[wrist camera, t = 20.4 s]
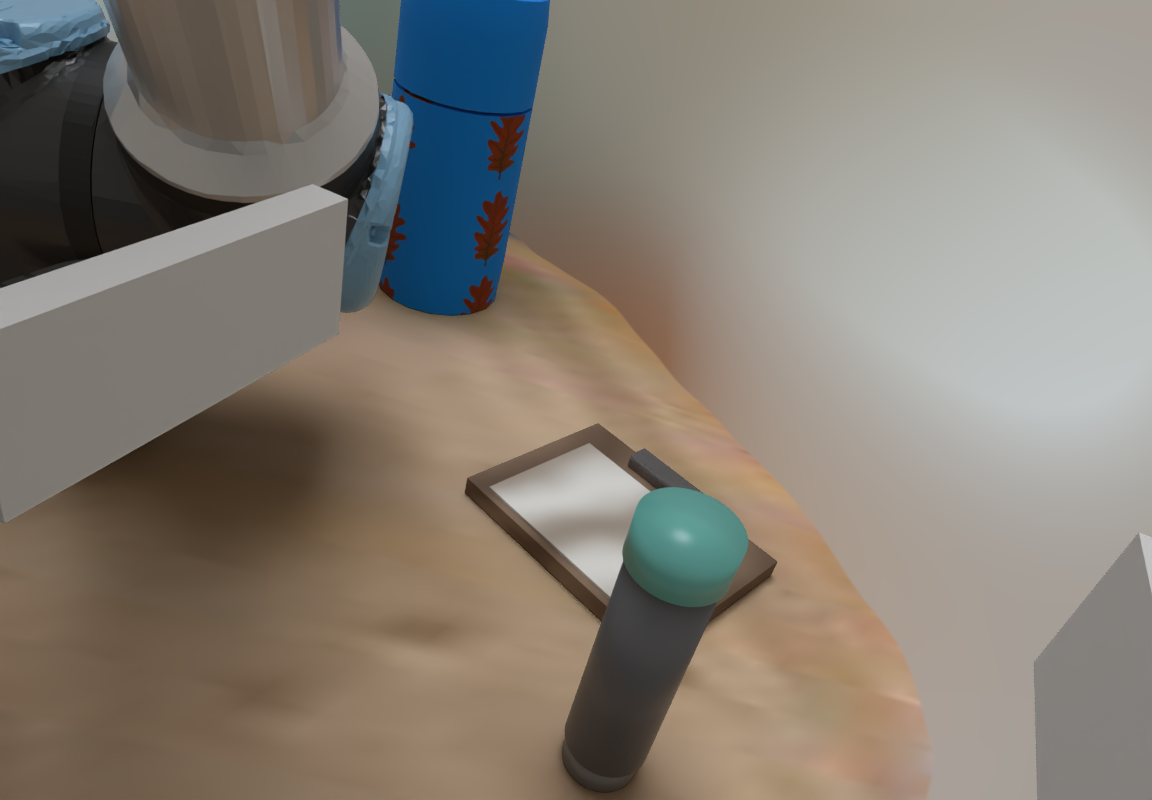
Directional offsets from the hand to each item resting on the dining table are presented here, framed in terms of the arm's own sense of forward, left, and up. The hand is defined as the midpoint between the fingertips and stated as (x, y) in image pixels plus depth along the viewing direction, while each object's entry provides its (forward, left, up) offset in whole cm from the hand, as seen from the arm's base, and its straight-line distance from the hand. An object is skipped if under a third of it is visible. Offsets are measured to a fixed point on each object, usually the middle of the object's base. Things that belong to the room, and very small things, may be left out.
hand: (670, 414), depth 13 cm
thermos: (-46, +34, -28) cm, 64 cm away
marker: (-5, +13, -28) cm, 31 cm away
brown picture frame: (-15, +25, -28) cm, 40 cm away
